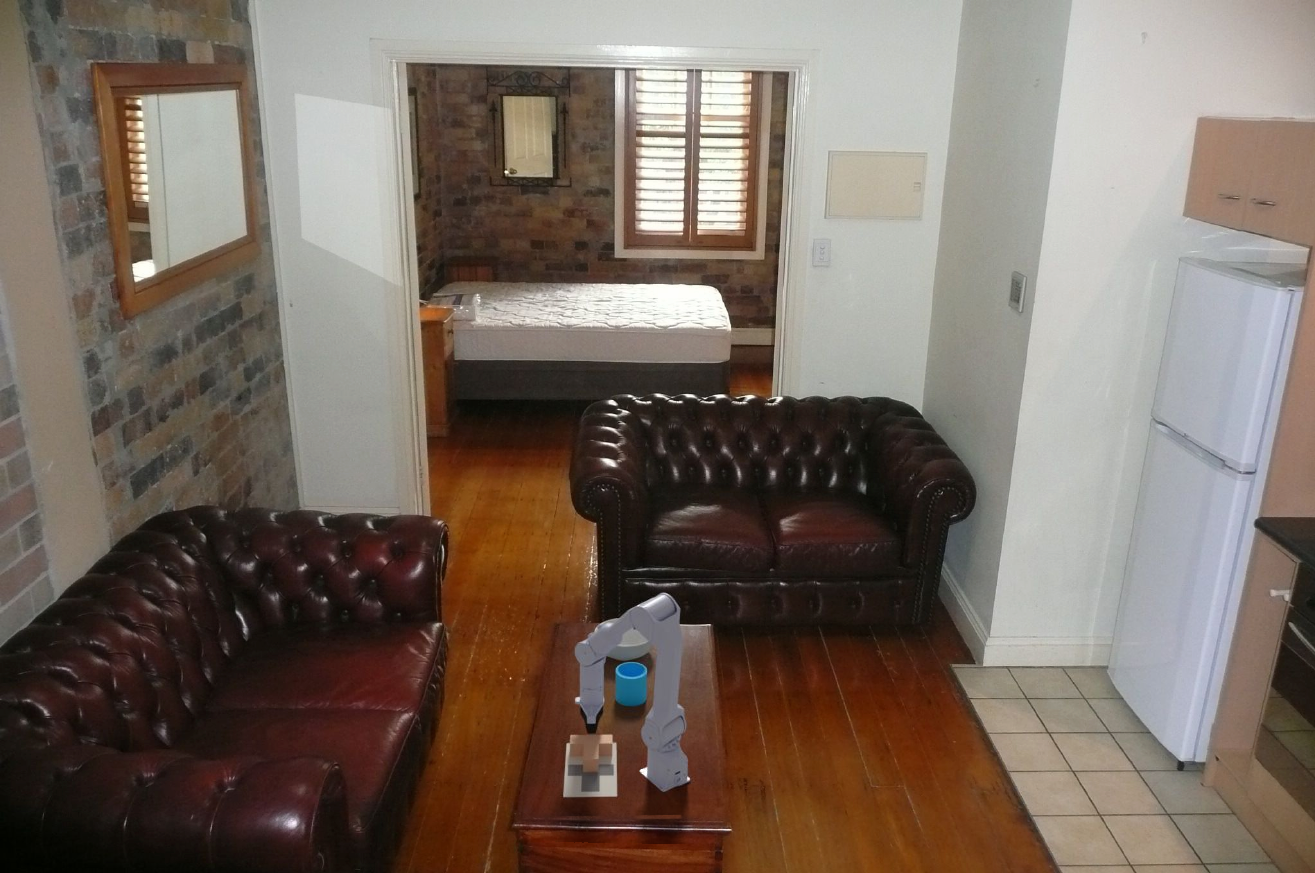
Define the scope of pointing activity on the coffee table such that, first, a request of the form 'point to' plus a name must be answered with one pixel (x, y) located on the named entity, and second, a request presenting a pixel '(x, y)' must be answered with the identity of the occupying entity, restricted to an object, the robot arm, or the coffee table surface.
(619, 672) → the mug
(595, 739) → the t block
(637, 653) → the cereal bowl
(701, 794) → the coffee table surface
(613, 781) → the push mat
